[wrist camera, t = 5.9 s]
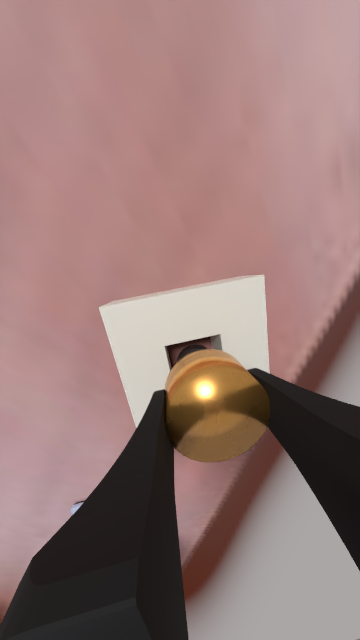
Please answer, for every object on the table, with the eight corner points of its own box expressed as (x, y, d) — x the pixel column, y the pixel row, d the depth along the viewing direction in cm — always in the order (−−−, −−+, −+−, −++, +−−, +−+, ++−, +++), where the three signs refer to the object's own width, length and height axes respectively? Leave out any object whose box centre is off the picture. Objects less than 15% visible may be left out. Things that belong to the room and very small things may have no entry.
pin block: (251, 385, 19) (271, 409, 15) (144, 411, 18) (140, 441, 14) (241, 275, 16) (264, 274, 12) (112, 301, 15) (98, 307, 12)
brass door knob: (228, 380, 15) (273, 446, 9) (170, 395, 14) (178, 473, 9) (220, 325, 13) (267, 359, 8) (156, 339, 13) (154, 387, 7)
